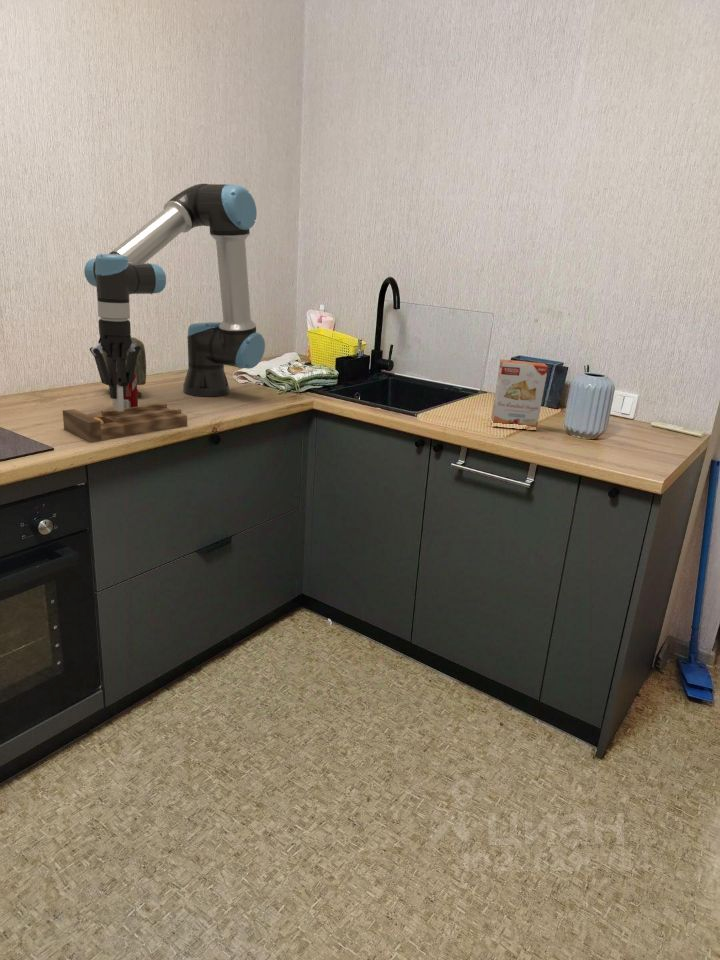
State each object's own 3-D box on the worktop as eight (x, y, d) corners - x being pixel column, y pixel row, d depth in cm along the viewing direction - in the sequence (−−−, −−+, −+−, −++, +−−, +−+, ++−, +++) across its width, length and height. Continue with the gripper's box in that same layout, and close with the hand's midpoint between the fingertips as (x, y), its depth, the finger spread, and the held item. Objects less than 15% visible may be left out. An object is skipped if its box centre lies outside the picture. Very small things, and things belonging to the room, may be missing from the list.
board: (159, 414, 190) (159, 398, 188) (187, 425, 181) (187, 408, 179) (64, 429, 170) (62, 410, 168) (90, 442, 161) (88, 422, 159)
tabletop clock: (147, 398, 207) (144, 318, 198) (119, 401, 201) (114, 318, 193) (129, 388, 217) (125, 312, 208) (102, 391, 211) (97, 312, 203)
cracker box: (492, 428, 205) (502, 361, 198) (490, 423, 210) (499, 358, 203) (537, 432, 204) (548, 365, 197) (533, 427, 210) (544, 362, 203)
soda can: (130, 413, 188) (128, 372, 184) (109, 410, 190) (106, 369, 186) (142, 408, 195) (140, 368, 191) (121, 405, 196) (119, 366, 192)
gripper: (130, 316, 171) (133, 404, 179) (82, 317, 162) (88, 410, 170) (145, 320, 166) (148, 410, 174) (96, 321, 157) (102, 416, 165)
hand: (118, 410), depth 172 cm, fingers closed
